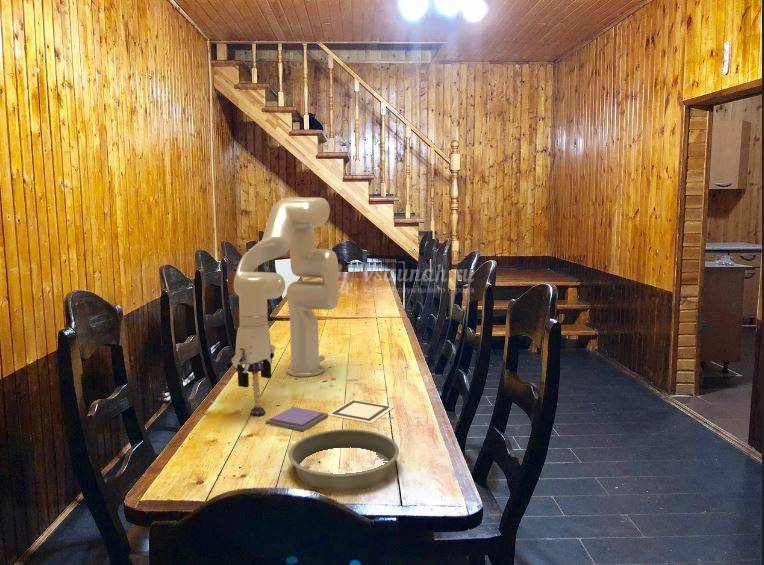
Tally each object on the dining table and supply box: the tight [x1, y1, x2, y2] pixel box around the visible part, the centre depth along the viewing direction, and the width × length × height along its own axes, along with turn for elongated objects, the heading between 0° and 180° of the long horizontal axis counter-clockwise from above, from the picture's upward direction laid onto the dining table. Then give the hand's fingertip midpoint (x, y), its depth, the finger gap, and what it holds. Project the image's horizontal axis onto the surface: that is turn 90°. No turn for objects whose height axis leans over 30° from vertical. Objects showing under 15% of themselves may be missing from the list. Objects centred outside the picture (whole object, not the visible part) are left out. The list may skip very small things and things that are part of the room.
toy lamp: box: [247, 361, 266, 417], centre depth 169 cm, size 5×5×17 cm
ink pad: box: [265, 406, 329, 433], centre depth 165 cm, size 12×12×1 cm
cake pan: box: [288, 428, 400, 491], centre depth 136 cm, size 25×25×4 cm
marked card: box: [327, 399, 395, 424], centre depth 172 cm, size 14×14×1 cm
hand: (255, 381), depth 168 cm, fingers open, 9 cm apart
